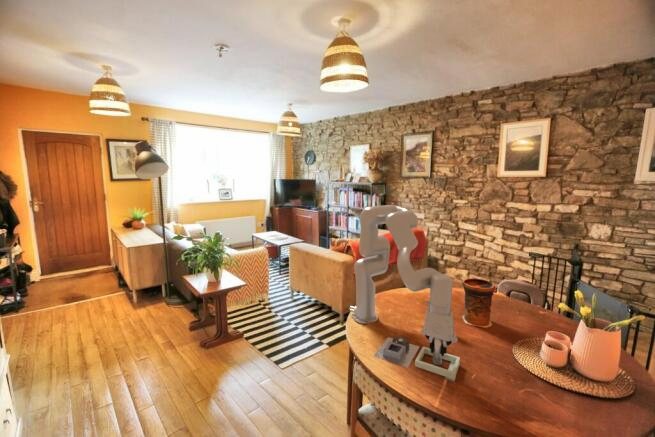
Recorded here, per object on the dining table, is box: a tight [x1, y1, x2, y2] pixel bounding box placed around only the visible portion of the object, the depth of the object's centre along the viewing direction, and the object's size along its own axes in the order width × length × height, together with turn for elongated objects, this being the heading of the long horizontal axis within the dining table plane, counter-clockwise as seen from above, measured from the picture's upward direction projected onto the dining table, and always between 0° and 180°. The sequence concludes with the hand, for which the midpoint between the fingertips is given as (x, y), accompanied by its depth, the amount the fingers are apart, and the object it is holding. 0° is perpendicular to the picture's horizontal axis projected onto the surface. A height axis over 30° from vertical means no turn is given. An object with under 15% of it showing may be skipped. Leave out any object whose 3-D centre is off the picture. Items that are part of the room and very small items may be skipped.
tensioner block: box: [373, 336, 420, 369], centre depth 123 cm, size 14×16×4 cm
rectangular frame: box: [414, 345, 461, 383], centre depth 114 cm, size 14×11×3 cm
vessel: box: [461, 277, 496, 329], centre depth 146 cm, size 14×14×20 cm
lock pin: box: [432, 338, 443, 366], centre depth 113 cm, size 4×4×13 cm
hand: (437, 352), depth 114 cm, fingers closed on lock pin, 3 cm apart
